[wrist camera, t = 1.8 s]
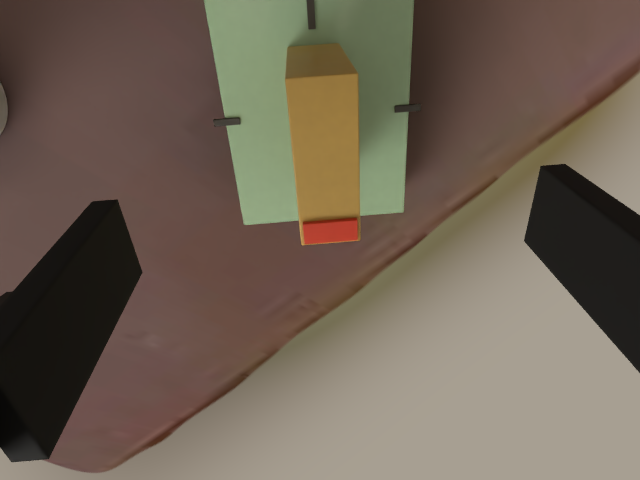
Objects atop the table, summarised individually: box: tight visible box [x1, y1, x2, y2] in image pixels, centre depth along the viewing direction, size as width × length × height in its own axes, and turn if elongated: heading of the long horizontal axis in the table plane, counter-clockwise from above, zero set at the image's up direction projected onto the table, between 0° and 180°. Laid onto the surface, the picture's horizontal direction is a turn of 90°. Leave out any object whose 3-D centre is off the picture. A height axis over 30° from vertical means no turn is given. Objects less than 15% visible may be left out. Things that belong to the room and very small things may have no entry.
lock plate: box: [204, 0, 421, 225], centre depth 25 cm, size 13×11×3 cm
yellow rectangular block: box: [285, 43, 360, 245], centre depth 20 cm, size 7×3×8 cm, turn 3°
